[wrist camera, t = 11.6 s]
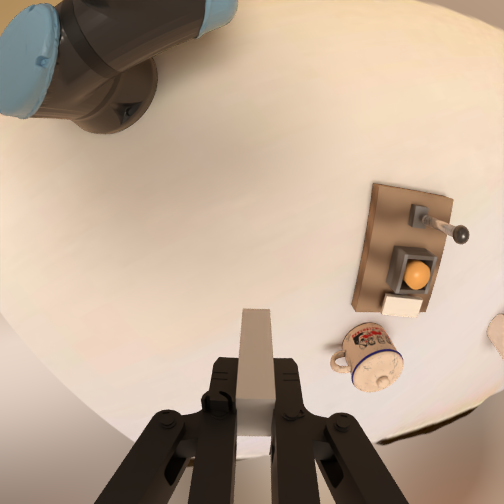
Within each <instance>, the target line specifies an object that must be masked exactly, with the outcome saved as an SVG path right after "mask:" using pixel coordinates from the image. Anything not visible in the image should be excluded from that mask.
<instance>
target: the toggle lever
mask: <svg viewBox="0 0 504 504" xmlns="http://www.w3.org/2000/svg"><path fill="white" fill-rule="evenodd" d="M422 222H423V224H425V225H427V226H429V227H431V228H434V229H436V230H438V231H441V232H443V233H445V234H447V235H450V236H452V237H453V239H454V241H455V242H456V243H458V244H464V243H466V242H467V241H468V239H469V231H468V229H467V228H466V227H465V226H463V225H458V226H456V227H455V226H453V225H451V224H448V223H446V222H443V221H441V220H438V219H436V218H433V217H431V216H428V215H425V216H423V218H422Z"/></svg>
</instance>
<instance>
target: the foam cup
mask: <svg viewBox="0 0 504 504" xmlns="http://www.w3.org/2000/svg"><path fill="white" fill-rule="evenodd" d="M487 335H488V336H489V338H490V340H491V341H492V343H493V344H494V346H495V348H496V349H497V351H498V352H499V354H500V355H501V357H502V359H503V360H504V315H503V314H499V315H497V316H496V317H494V319H493V320H492V321H491V322H490V324H489V326H488V329H487Z"/></svg>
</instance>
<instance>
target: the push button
mask: <svg viewBox="0 0 504 504" xmlns="http://www.w3.org/2000/svg"><path fill="white" fill-rule="evenodd" d="M429 278H430V269H429V267H428V266H427V265H425V264H424V263H423V262H422V261H420V260H418V259H407V264H406V268H405V272H404V276H403V280H404V281H405V282H406V283H407V285H408V286H409V287H410V288H412V289H414V290H417V289H421V288H422V287H424V286H425V285H426V284H427V282H428V281H429Z"/></svg>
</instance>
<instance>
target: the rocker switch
mask: <svg viewBox="0 0 504 504" xmlns="http://www.w3.org/2000/svg"><path fill="white" fill-rule="evenodd" d="M422 302H423V299H422V298H421V297H413V296H404V295H395V294H385V298H384V301H383V305H382V309H381V314H382V315H392V316H403V317H414V318H417V317H418V314H419V311H420V308H421V305H422Z"/></svg>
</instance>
